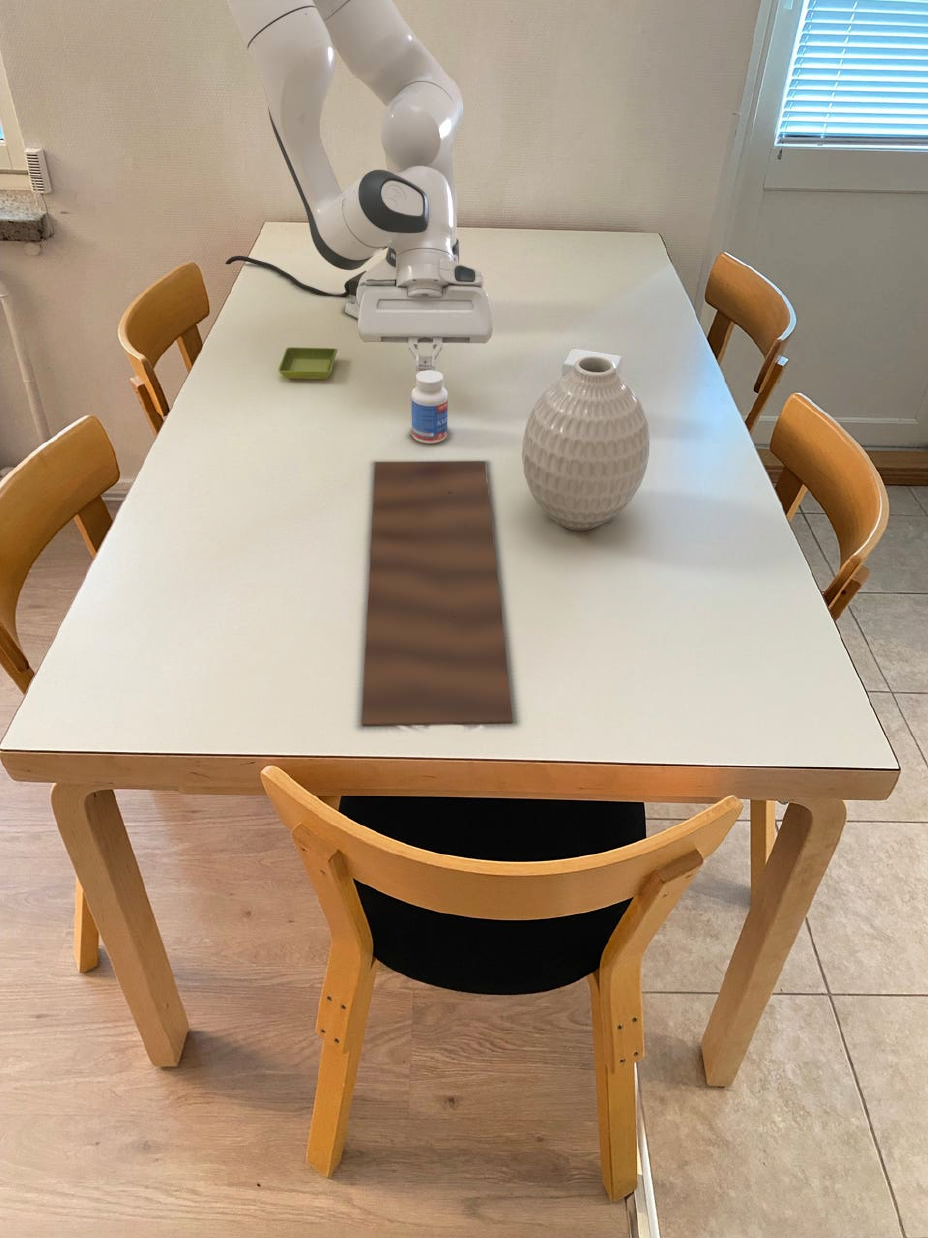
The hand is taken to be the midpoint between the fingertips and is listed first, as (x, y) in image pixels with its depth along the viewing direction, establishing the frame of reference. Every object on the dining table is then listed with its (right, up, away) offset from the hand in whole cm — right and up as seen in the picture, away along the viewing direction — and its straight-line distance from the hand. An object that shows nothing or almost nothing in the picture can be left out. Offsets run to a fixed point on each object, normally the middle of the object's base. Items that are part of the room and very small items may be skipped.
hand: (425, 369), depth 145 cm
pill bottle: (+1, -10, +2) cm, 10 cm away
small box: (+25, -7, +5) cm, 26 cm away
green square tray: (-20, +4, +17) cm, 26 cm away
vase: (+21, -24, -14) cm, 35 cm away
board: (+2, -32, -24) cm, 40 cm away
